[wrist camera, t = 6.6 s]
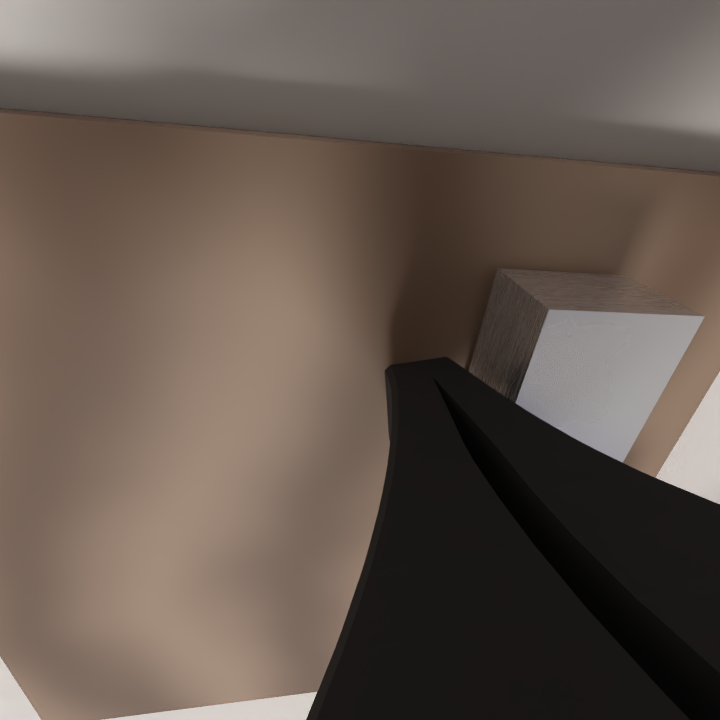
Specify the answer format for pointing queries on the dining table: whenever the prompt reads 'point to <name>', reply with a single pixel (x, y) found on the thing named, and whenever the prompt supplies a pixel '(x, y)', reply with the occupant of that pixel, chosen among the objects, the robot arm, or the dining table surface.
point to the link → (582, 351)
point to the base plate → (259, 376)
